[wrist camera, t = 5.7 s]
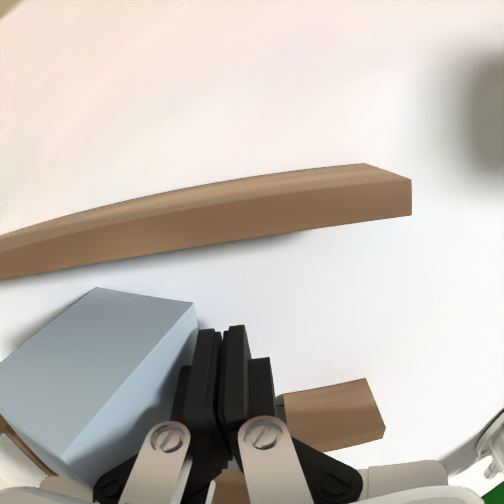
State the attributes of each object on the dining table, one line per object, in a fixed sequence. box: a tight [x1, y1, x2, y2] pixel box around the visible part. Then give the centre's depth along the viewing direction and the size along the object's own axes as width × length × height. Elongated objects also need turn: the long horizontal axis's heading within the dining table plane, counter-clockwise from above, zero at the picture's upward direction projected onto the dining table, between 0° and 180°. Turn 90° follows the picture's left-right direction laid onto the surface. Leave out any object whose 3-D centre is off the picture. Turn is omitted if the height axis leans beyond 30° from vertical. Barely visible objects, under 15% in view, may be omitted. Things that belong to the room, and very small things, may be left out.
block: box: [0, 287, 199, 490], centre depth 9 cm, size 5×5×7 cm
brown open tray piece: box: [0, 163, 412, 504], centre depth 12 cm, size 20×26×6 cm
